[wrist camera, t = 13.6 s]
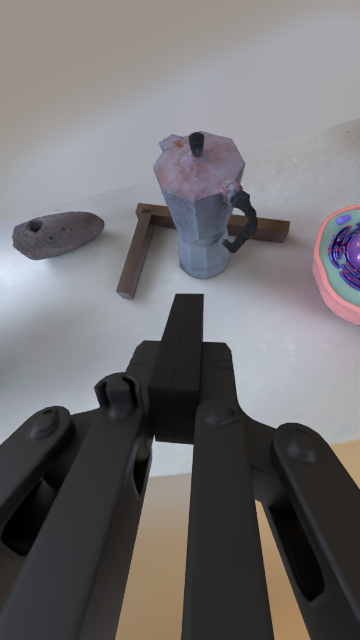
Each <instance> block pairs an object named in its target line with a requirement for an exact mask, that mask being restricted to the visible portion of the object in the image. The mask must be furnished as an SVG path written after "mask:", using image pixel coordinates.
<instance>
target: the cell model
mask: <svg viewBox="0 0 360 640" xmlns="http://www.w3.org/2000/svg"><path fill="white" fill-rule="evenodd" d="M312 270H313V275H314V279H315V281H316V284H317V286H318V289H319V291H320V294H321V296H322V299H323V301H324V302H325V304H326V305H327V306H328V307H329V308H330V309H331V310H332V311H333V312H334V313H335V314H336V315H337V316H339V317H340V318H342V319H344V320H346V321H348V322H351V323H354V324H356V325H359V326H360V205H353V206H349V207H345V208H343V209H340V210H338V211H336V212H334V213H332V214H331V215H329V216H328V217H327V218H326V219H325V220H324V221H323V223H322V224H321V227H320V229H319V232H318V235H317V239H316V243H315V247H314V252H313V260H312Z"/></svg>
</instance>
